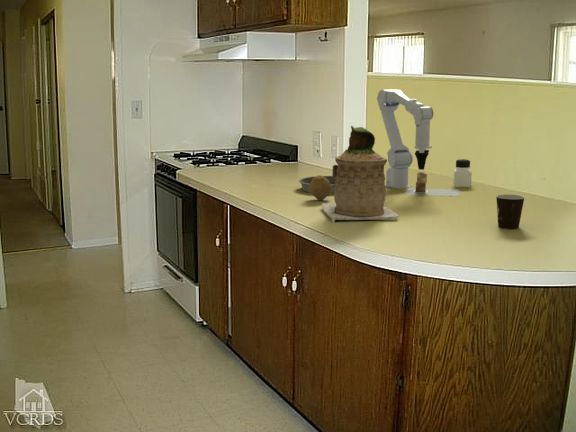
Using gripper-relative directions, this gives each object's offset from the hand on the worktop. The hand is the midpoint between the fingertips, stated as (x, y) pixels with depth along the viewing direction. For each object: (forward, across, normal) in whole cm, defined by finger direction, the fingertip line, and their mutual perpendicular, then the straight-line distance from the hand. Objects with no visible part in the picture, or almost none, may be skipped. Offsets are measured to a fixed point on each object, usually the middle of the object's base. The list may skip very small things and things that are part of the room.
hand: (421, 168), depth 271 cm
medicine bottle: (+11, +19, -17) cm, 28 cm away
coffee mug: (+11, -60, -29) cm, 67 cm away
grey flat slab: (+10, 0, -5) cm, 11 cm away
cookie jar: (+11, -47, +20) cm, 53 cm away
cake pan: (+11, +2, +41) cm, 42 cm away
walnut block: (+10, 0, 0) cm, 10 cm away
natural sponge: (+11, -23, +39) cm, 47 cm away
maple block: (+6, 0, 0) cm, 6 cm away
